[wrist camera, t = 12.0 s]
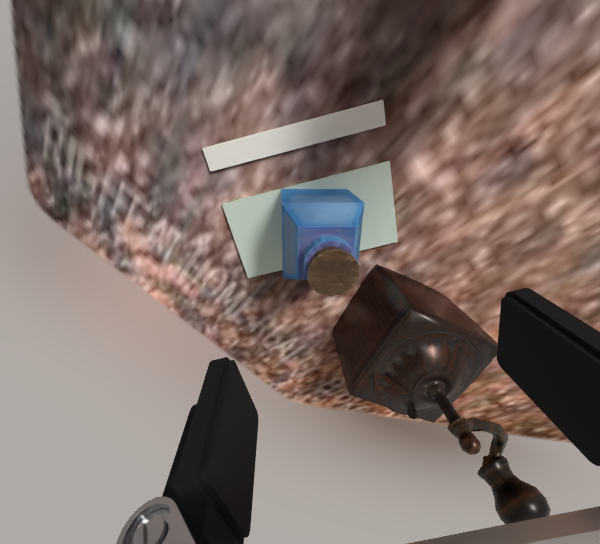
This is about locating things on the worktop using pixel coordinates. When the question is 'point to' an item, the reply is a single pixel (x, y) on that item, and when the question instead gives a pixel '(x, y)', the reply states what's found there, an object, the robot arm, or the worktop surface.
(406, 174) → the worktop surface
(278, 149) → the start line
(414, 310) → the dark brown coffee grinder
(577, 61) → the worktop surface
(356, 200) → the perfume bottle
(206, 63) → the worktop surface
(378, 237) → the mat
